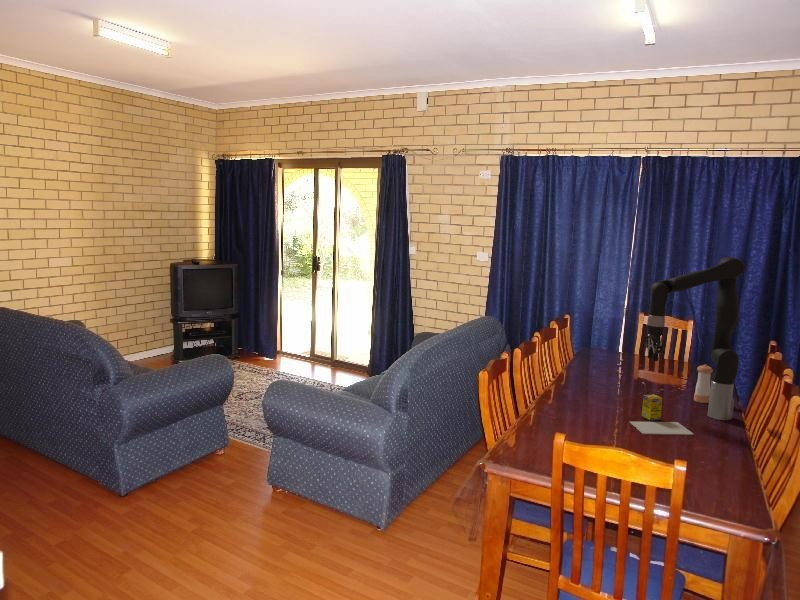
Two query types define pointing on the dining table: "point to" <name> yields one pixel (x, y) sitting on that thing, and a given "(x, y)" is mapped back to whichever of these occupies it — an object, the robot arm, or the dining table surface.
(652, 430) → the mat
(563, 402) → the dining table surface
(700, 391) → the salt shaker
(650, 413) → the supplement box
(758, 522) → the dining table surface
